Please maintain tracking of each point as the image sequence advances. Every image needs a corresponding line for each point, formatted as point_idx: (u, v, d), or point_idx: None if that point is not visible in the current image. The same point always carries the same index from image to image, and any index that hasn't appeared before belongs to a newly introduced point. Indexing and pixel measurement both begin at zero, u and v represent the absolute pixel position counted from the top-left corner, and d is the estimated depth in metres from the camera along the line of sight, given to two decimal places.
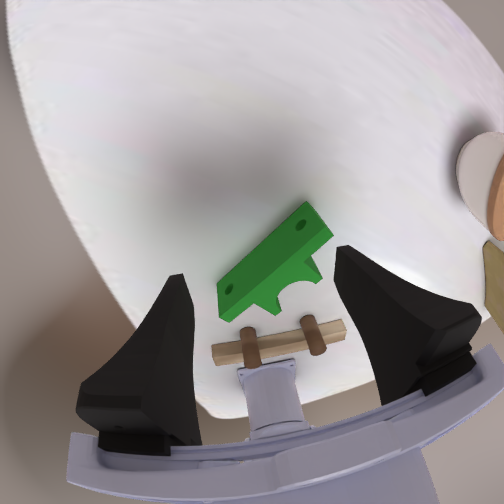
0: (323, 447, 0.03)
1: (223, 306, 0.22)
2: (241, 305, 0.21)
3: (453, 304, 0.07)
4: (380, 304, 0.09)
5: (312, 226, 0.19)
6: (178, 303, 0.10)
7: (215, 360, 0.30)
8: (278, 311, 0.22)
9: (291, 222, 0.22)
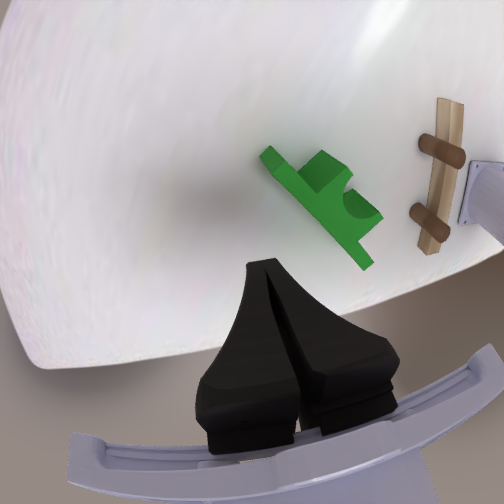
0: (323, 447, 0.03)
1: None
2: (356, 252, 0.19)
3: (361, 337, 0.06)
4: (287, 327, 0.09)
5: None
6: None
7: (431, 252, 0.24)
8: (378, 215, 0.18)
9: None
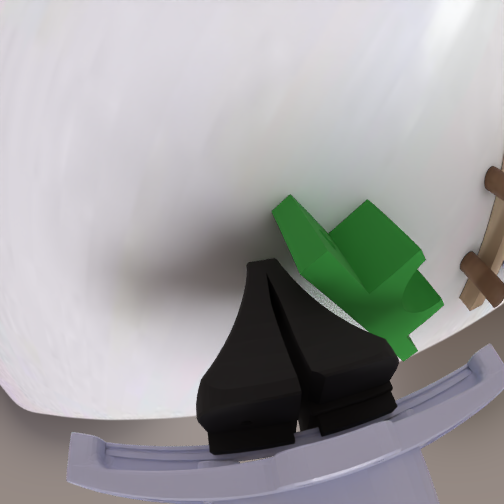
0: (323, 447, 0.03)
1: None
2: (400, 347, 0.12)
3: (360, 338, 0.06)
4: (286, 327, 0.09)
5: None
6: None
7: (475, 306, 0.17)
8: (439, 303, 0.11)
9: None
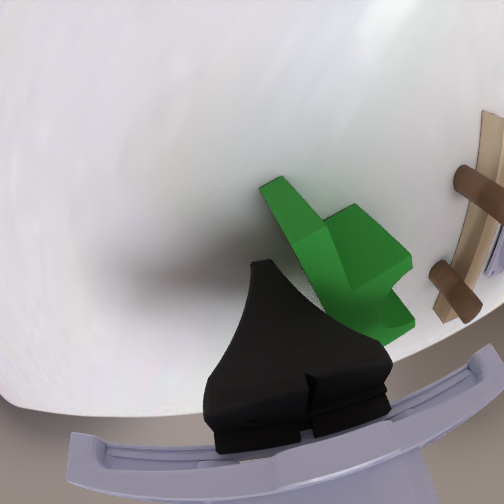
0: (323, 447, 0.03)
1: None
2: None
3: (354, 340, 0.06)
4: None
5: None
6: None
7: (450, 319, 0.17)
8: (412, 323, 0.11)
9: None
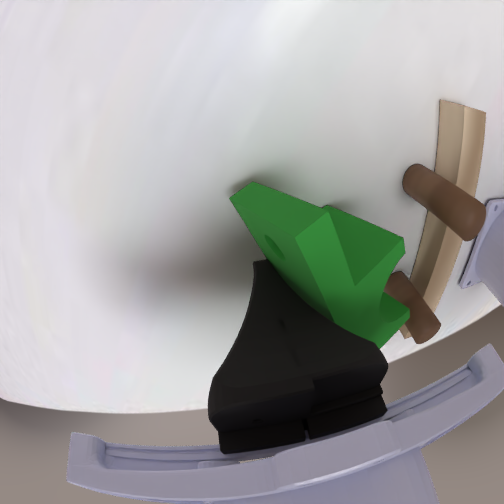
0: (323, 447, 0.03)
1: None
2: None
3: (349, 341, 0.06)
4: None
5: (284, 245, 0.08)
6: None
7: None
8: (407, 314, 0.11)
9: (265, 247, 0.10)
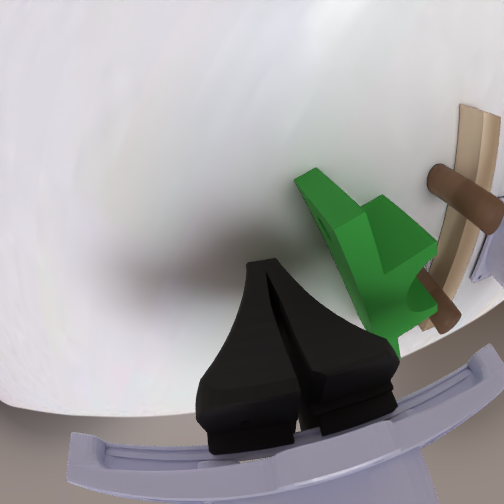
0: (323, 447, 0.03)
1: None
2: None
3: (361, 337, 0.06)
4: (287, 327, 0.09)
5: (329, 231, 0.09)
6: None
7: (430, 326, 0.17)
8: (434, 308, 0.11)
9: (319, 224, 0.12)
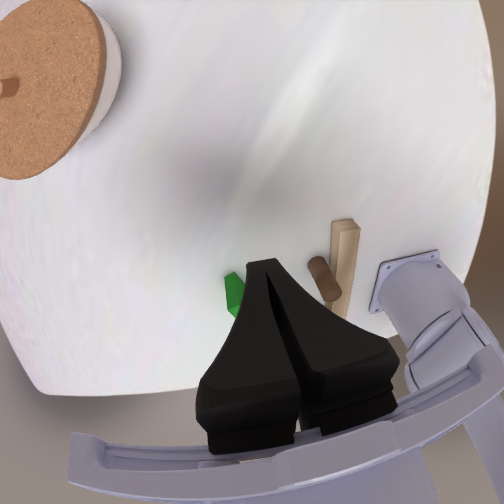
0: (323, 447, 0.03)
1: None
2: None
3: (361, 337, 0.06)
4: (287, 327, 0.09)
5: None
6: None
7: None
8: None
9: None
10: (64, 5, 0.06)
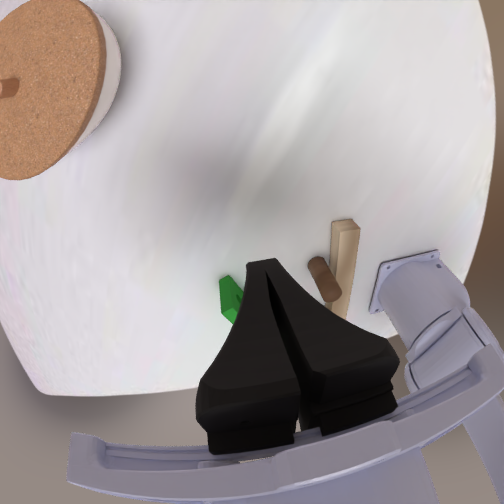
0: (323, 447, 0.03)
1: None
2: None
3: (361, 337, 0.06)
4: (286, 327, 0.09)
5: None
6: None
7: None
8: None
9: None
10: (64, 5, 0.06)
